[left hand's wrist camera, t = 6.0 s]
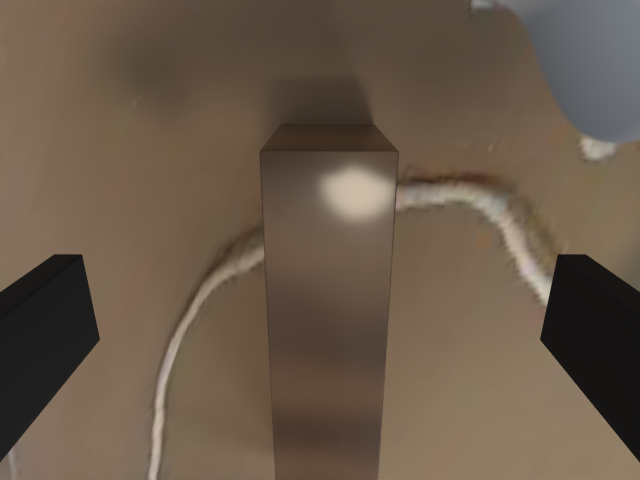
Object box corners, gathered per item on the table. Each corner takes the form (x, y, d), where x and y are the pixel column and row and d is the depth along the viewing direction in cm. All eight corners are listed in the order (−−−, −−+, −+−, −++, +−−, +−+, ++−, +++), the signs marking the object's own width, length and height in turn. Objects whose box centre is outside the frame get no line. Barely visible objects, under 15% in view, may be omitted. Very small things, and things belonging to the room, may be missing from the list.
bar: (281, 124, 27) (259, 150, 18) (374, 124, 27) (398, 151, 18) (291, 460, 37) (280, 584, 28) (360, 460, 37) (371, 585, 28)
